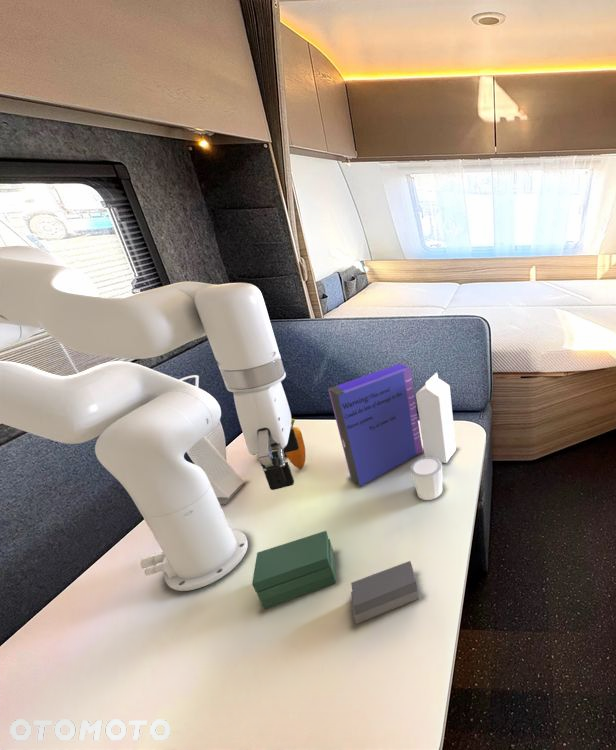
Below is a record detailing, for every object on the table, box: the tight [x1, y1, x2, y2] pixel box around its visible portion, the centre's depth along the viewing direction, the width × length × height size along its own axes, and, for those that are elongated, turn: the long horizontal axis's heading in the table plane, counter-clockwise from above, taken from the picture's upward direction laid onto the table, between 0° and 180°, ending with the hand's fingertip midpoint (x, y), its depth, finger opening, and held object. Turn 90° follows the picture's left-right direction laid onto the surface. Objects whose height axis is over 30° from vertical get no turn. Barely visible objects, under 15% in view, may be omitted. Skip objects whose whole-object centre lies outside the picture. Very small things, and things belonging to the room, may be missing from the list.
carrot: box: [285, 418, 306, 470], centre depth 92 cm, size 5×5×15 cm
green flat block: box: [251, 530, 330, 593], centre depth 65 cm, size 11×6×2 cm, turn 114°
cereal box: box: [327, 363, 424, 488], centre depth 90 cm, size 17×5×24 cm, turn 136°
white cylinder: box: [409, 456, 443, 501], centre depth 85 cm, size 7×7×7 cm
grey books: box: [350, 560, 420, 625], centre depth 63 cm, size 10×4×4 cm, turn 114°
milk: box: [415, 372, 457, 464], centre depth 94 cm, size 6×6×22 cm
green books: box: [256, 538, 337, 610], centre depth 66 cm, size 11×6×4 cm, turn 114°
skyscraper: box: [178, 374, 246, 506], centre depth 83 cm, size 8×8×28 cm
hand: (286, 467), depth 62 cm, fingers open, 9 cm apart
